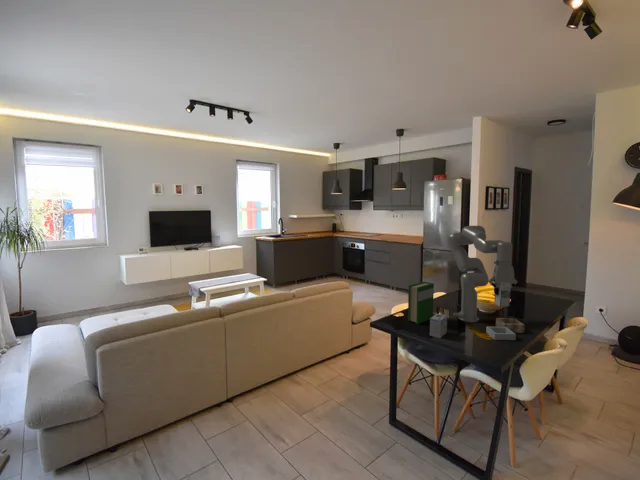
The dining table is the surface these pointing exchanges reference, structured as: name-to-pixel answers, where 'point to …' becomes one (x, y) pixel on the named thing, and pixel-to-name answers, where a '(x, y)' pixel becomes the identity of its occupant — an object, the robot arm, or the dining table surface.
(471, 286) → the robot arm
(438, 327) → the light bulb box
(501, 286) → the syrup box
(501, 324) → the brown square tray
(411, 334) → the dining table surface
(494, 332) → the seat block
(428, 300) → the hardback book
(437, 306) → the dining table surface
